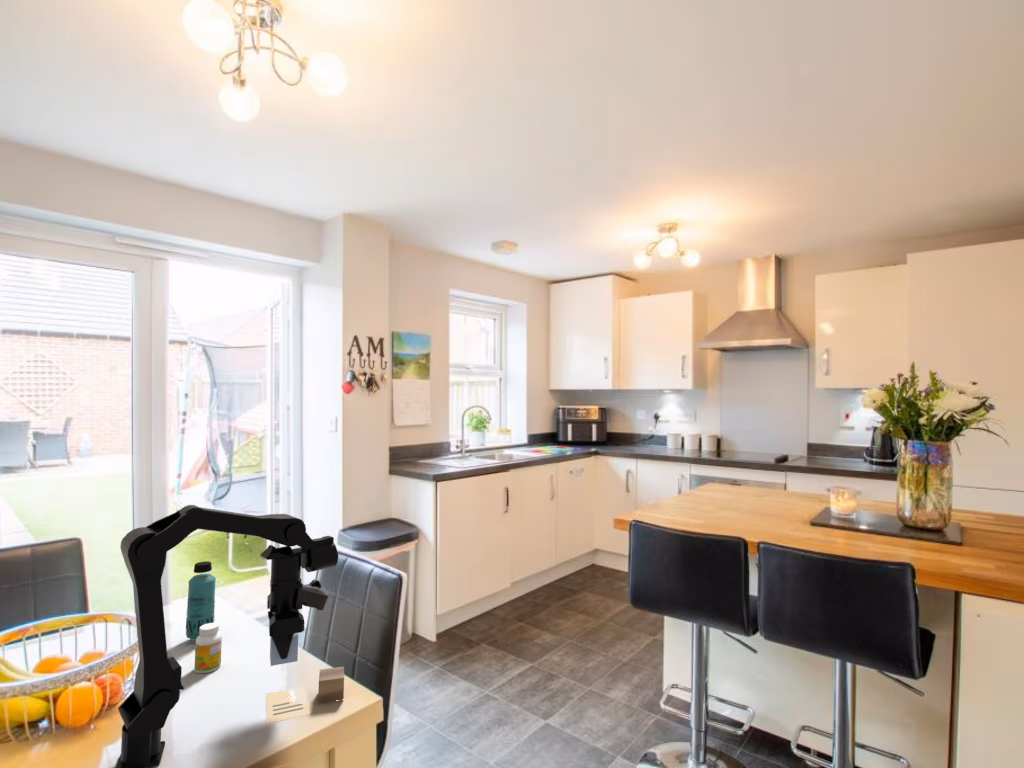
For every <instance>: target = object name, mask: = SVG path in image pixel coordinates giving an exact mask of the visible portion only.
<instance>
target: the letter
mask: <svg viewBox="0 0 1024 768" xmlns="http://www.w3.org/2000/svg"><path fill="white" fill-rule="evenodd" d="M287 689H288V690H287V691H286V689H281V690H277V691H272V692H267V693H265V712H266V714H265V715H266V724H273V723H277V722H281V721H282V722H283V721H286V720H287V721H288V720H291V719H295V718H299V717H304V716H308V715H309V716H310V715H311V709H310V704H308V705H309V706H308V705H307V704H304V703H305V702H306V701H305V702H304V703H303V704H299V703H300V702H298V703H297V702H293V701H291V700H292V699H293V698H292V699H291V700H290V698H291V697H292V696H291V695H290V694H289V693H288V691H289V689H290V688H287ZM289 696H290V697H289ZM288 697H289V698H288ZM287 699H288V700H287ZM289 700H290V701H289ZM294 700H295V699H294ZM297 700H298V699H297ZM293 703H294V704H293ZM296 703H297V704H296ZM301 703H302V702H301ZM301 705H302V706H301ZM304 705H305V706H304ZM306 705H307V706H306ZM308 710H309V711H308Z"/></svg>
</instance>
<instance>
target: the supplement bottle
mask: <svg viewBox="0 0 1024 768" xmlns="http://www.w3.org/2000/svg"><path fill="white" fill-rule="evenodd" d="M219 627H220V624H219V623H218V622H214V623H208V624H204V625H202V626H201V627H200V628H199V634H200V636H198V637H197V639H195V649H194V672H195V673H197V674H207V673H211V672H212V673H213V672H215V671H216V670H217V669H219V668H220V667H221V664H222V641H223V640H222V639H223V635H222V634H221V633H220V632H219V631H220V628H219Z"/></svg>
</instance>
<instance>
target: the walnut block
mask: <svg viewBox="0 0 1024 768" xmlns="http://www.w3.org/2000/svg"><path fill="white" fill-rule="evenodd" d="M344 688H345V666H338V667H331V668H330V667H329V668H322V669H319V675H318V693H317V694H318V697H317V699H318V700H317V701H318V702H317V705H322V704H321V703H323V704H327V703H326V702H330V703H332V702H331V701H336V700H342V699H344V697H345V696H344V694H345V692H344V691H345V689H344ZM344 700H345V699H344Z"/></svg>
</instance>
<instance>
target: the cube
mask: <svg viewBox="0 0 1024 768" xmlns="http://www.w3.org/2000/svg"><path fill="white" fill-rule="evenodd" d="M269 642H270V646H269V660H270V667H273V666H278V665H283V664H289V663H295V662H298V661H299V659H298V657H299V656H298V655H299V633H295V634H294V635H293V638H292V641H291V645H290V649H289V653H288V656H287V658H286V659H281V658H280V655H279V653H278V651H277V648H276V646H275V644H274V641H273V639H272V637H271V636H270V640H269Z"/></svg>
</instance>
